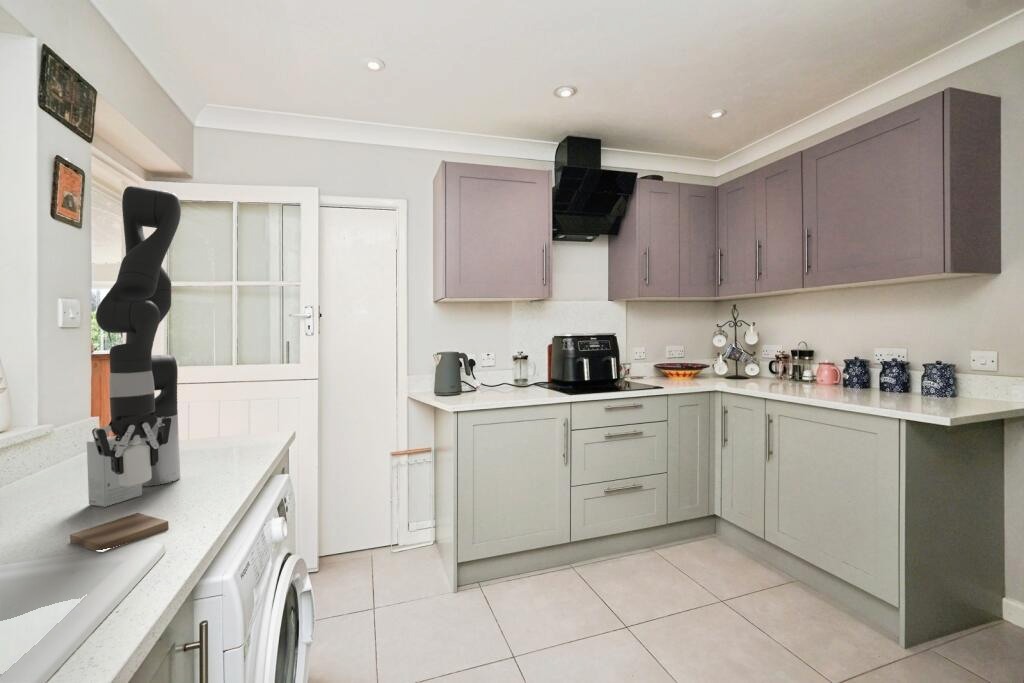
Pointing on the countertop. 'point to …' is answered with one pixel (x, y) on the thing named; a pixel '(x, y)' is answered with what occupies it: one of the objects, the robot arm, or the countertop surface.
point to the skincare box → (106, 479)
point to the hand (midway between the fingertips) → (135, 469)
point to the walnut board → (119, 531)
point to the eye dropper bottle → (135, 463)
